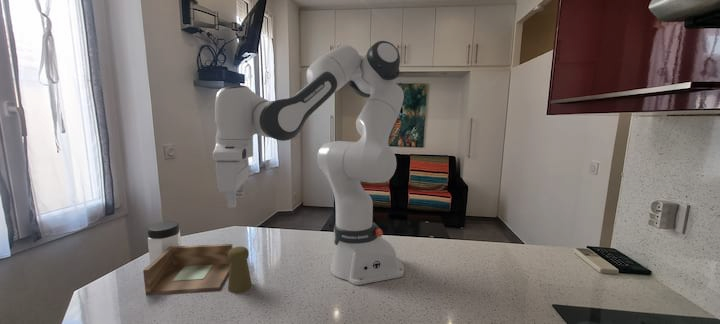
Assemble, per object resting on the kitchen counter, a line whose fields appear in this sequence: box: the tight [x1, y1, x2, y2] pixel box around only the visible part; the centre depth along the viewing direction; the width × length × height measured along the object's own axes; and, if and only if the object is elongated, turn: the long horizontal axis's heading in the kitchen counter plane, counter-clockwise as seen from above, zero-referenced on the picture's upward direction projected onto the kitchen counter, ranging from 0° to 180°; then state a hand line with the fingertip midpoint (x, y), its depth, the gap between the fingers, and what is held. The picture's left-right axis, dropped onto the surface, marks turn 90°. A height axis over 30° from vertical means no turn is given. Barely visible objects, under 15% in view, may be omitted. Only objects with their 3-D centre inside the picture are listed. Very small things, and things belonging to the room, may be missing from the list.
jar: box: [147, 220, 182, 265], centre depth 94 cm, size 9×8×12 cm
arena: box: [142, 243, 234, 296], centre depth 85 cm, size 18×14×7 cm
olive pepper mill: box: [227, 246, 253, 294], centre depth 81 cm, size 6×6×11 cm
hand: (236, 202), depth 79 cm, fingers open, 8 cm apart
